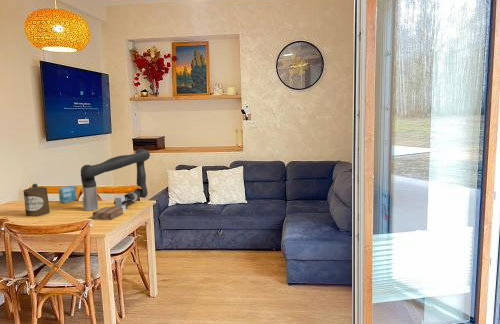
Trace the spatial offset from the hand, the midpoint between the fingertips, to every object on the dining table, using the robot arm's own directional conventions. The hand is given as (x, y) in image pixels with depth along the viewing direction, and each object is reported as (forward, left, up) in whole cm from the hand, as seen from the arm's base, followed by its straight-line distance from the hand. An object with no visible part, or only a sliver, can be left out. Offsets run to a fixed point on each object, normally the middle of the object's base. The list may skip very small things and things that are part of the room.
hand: (118, 203), depth 267 cm
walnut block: (0, -14, -6) cm, 15 cm away
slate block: (0, +2, -6) cm, 6 cm away
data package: (-59, +22, -6) cm, 63 cm away
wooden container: (-56, -14, -6) cm, 58 cm away
